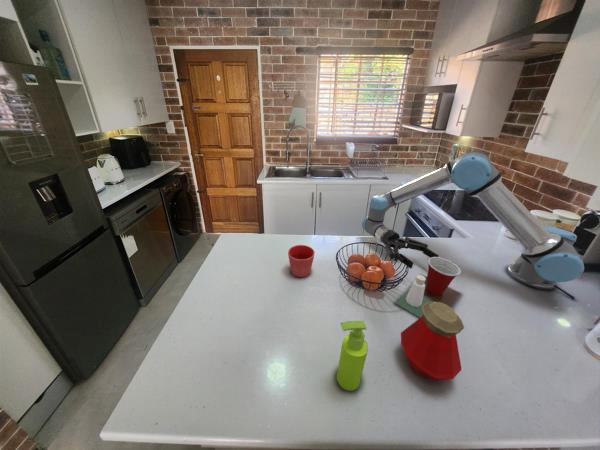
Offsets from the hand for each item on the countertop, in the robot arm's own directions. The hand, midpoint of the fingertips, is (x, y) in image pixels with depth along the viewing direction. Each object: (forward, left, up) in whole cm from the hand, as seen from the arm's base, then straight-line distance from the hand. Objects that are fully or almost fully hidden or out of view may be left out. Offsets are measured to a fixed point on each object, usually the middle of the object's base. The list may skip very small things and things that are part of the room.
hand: (424, 261), depth 97 cm
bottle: (-16, +36, -9) cm, 41 cm away
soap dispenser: (-4, +55, -9) cm, 56 cm away
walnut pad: (-7, +3, -9) cm, 12 cm away
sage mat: (-7, +15, -9) cm, 19 cm away
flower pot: (+36, +33, -9) cm, 50 cm away
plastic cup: (-7, +3, -8) cm, 11 cm away
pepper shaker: (-4, +15, -8) cm, 18 cm away
